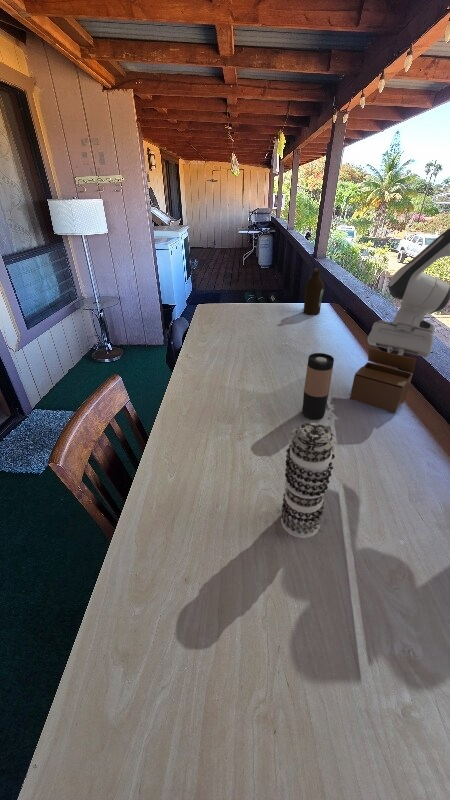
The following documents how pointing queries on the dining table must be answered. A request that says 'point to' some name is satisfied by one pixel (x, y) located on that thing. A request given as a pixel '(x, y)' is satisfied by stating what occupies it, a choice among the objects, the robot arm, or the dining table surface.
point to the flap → (391, 359)
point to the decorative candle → (306, 478)
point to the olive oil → (313, 294)
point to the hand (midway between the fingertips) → (391, 360)
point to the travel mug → (317, 385)
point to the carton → (380, 386)
